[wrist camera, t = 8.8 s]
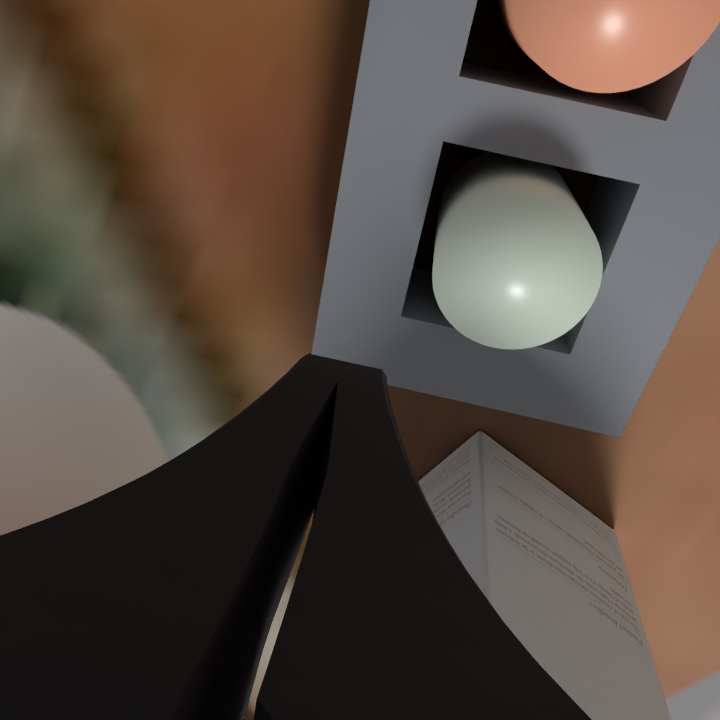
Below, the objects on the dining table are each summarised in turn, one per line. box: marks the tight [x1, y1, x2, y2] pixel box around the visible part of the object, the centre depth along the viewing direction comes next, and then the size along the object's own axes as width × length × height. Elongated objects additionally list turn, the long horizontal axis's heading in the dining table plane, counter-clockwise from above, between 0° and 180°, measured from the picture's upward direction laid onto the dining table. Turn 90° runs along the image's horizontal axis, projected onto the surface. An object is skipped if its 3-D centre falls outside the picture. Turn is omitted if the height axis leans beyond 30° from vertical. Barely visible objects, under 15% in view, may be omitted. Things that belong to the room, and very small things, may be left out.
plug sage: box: [432, 152, 603, 350], centre depth 17 cm, size 4×4×5 cm
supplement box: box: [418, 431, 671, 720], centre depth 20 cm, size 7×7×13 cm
